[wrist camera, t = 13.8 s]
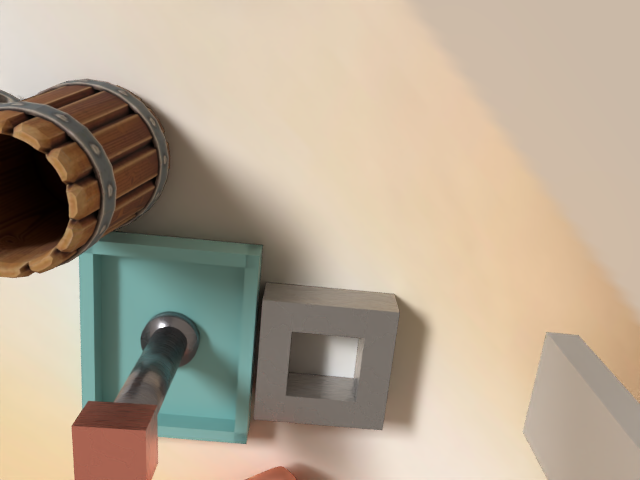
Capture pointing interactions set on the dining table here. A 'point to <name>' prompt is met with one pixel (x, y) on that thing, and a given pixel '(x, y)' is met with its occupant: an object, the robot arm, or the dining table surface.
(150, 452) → the rod with pink block
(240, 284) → the tray
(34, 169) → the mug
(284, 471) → the teapot
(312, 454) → the dining table surface
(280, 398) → the eye block
